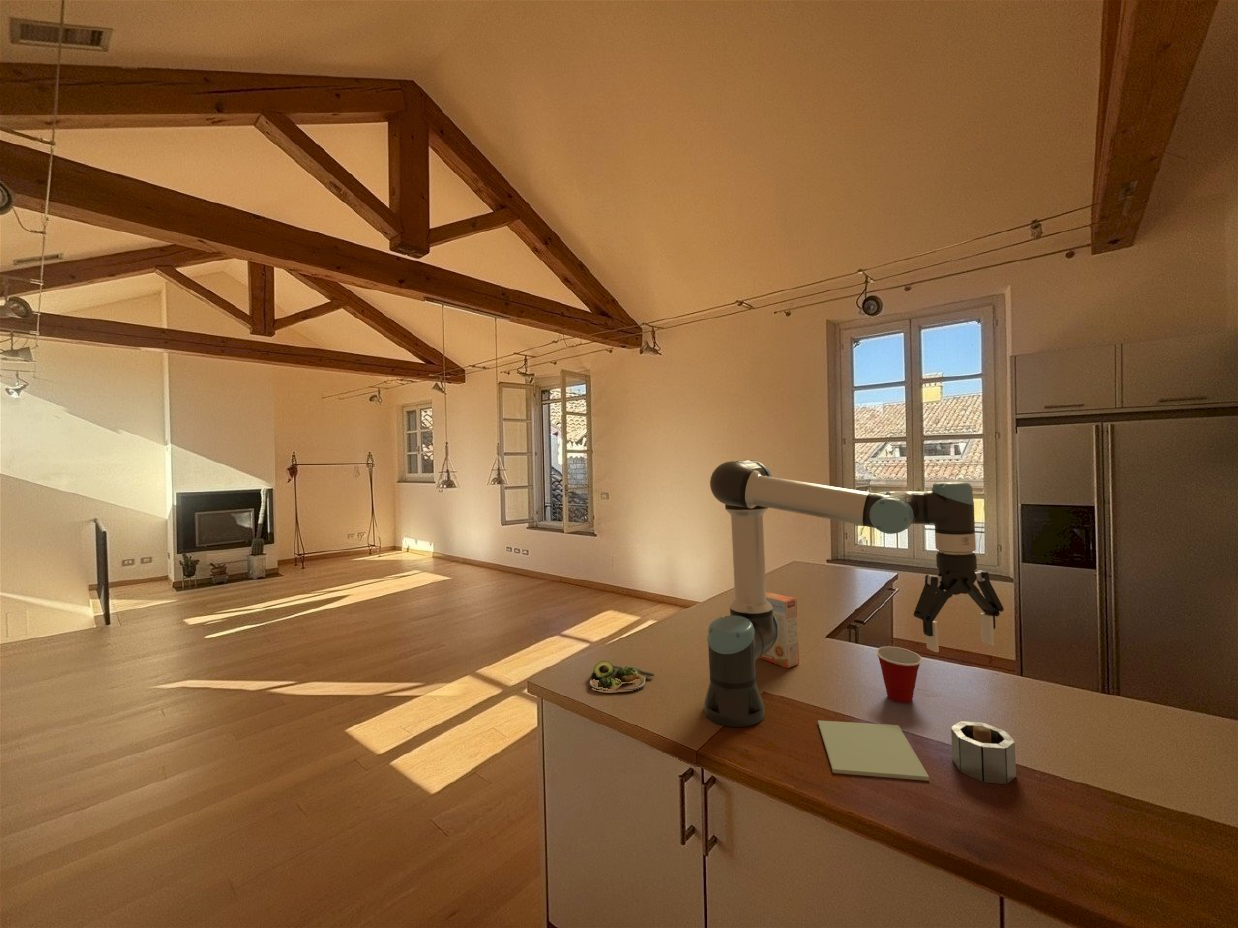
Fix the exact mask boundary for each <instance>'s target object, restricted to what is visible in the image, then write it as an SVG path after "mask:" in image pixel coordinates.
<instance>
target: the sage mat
mask: <svg viewBox="0 0 1238 928" xmlns="http://www.w3.org/2000/svg"><path fill="white" fill-rule="evenodd" d="M817 725H818V728H819V731H820V734H821V738H822V741H823V743H824V747H825V751H826V754H827V757H828V761H829V765H830V767H831V771H832V773H833V774H842V775H843V774H844V775H852V776H853V775H854V776H865V777H866V776H868V777H880V778H893V779H902V780H903V779H905V780H915V781H916V780H917V781H926V782H927V781H928V782H929V781H930V775H928V773H927V771H926V769H925V767H924V765H923V764H922V762H921V761H920V759H919V757H918V756H917V754H916V752H915V751H914V749H913V747H912V745H911V744H910V742H909V740H908V739H907V738H906V736H905V734H904V732H903V730H902V729H901V727H900V725H899V724H898V725H897V724H885V723H884V724H883V723H868V722H867V723H865V722H852V721H849V722H848V721H832V720H817Z"/></svg>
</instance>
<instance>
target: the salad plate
mask: <svg viewBox="0 0 1238 928" xmlns="http://www.w3.org/2000/svg"><path fill="white" fill-rule="evenodd" d="M649 677H655V673H653V672H649V671H644V670H643V669H642V668H640V667H638V666H628V665H625V666H617V665H613V664H612V662H610V661H607V660H602V661H599V662H597V663H596V665H595V666H594V667H593V672H592V673H591V675H590V680H589V683H588V686H590V687H591V688H594V689H596V690H603V691H606V689H602V688H598V687H603V688H608V689H614V688H616V687H617V686H618V685H619V684H621V682H630V681H633V680H635V679H640V682H641V683H640V684H639V685H638V686H635V685H634V686H633V687H630V689H629V688H625V689H622V690H635V689H638V690H640V689H642V688H643V687H644V686H645V685H646V679H647V678H649ZM615 678H618V679H620V680H621V682H620V681H618V680H616V679H615ZM593 679H595V680H599V682H598V687H596V686H595V685H594V684H593V683H592V680H593ZM590 687H589V688H590ZM641 687H642V688H641ZM591 688H590V689H591ZM639 688H640V689H639ZM607 691H608V690H607Z"/></svg>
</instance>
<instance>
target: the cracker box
mask: <svg viewBox="0 0 1238 928" xmlns="http://www.w3.org/2000/svg"><path fill="white" fill-rule="evenodd" d="M766 598H767V601H768V602H769V603H770V604H771V605H772V607H773V615H774V616H775V617H776V619H777V621H778V624H779V636H778V638H777V640H776V642H775V644H774V645H773V647H772V648H771V649H770V650H768V651H767V652H765V653H764V654H763V655H762V656H761V657H760V658H759V659H760V660H764V661H766V662H769V663H772V664H775V665H777V666H780V667H783V668H786V669H789V668H792V667H795V666H798V665H799V664H800V655H799V653H800V651H799V650H800V649H799V632H798V630H799V629H798V626H799V625H798V609H797V606H798V605H797V603H798V602H797V598H796V597H791V596H788V595H787V596H786V595H782V594H778V593H775V592H774V593H773V592H768V591H766Z"/></svg>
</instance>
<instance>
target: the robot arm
mask: <svg viewBox="0 0 1238 928" xmlns="http://www.w3.org/2000/svg"><path fill="white" fill-rule="evenodd" d="M709 486H710V491H711V493H712V494H713V496H714V498H715V499H716V500H717V501H718V502H720V503H721V504H723V505H725V507H724V508H725V509H724V510H726V511H727V513H728V514H729V515H730V520H731V522H730V524H731V540H732V541H731V542H732V563H733V564H732V565H733V566H732V567H733V585H734V601H732V602H731V603H730V604H729V615H725V616H724V617H723V616H722V617H721V616H720V617H718V618H715V619H714V620H713V621H711V623H709V625H708V628H707V637H706V638H707V644H708V645H707V647H708V648H707V649H708V665H709V685H708V687H707V692H706V695H705V698H704V705H703V706H704V708H703V709H704V713H705V716H706V717H707V718H708V719H709V720H710V721H712V722H714V723H715V722H716V723H715V724H718V725H721V726H725V727H732V728H745V727H750V726H754V725H757V724H758V723H759V724H760V722H761V721H762V720H764V718H765V704H764V701H763V698H762V696H761V693H760V690H759V688H758V685H757V677H756V676H757V675H756V674H757V671H756V670H757V669H756V662H757V661H758V659H761V658H760V657H761V656H762V655H763V654H764V653H765V652H767V651H768V650H770V649H771V648H772V647H773V645H774V644H775V642H776V640H777V638H778V636H779V624H778V621H777V619H776V617H775V616H774V615H773V607H772V605H771V604H770V603H769V602H768V601H767V598H766V592H767V580H766V560H765V559H766V557H765V538H764V537H765V535H764V513H766V512H767V511H768V509H774V510H779V511H785V512H788V513H789V512H790V513H796V514H799V515H800V514H801V515H805V516H811V517H817V518H822V519H827V520H832V521H838V522H843V523H848V524H852V525H853V524H854V525H857V526H858V525H860V526H863V527H864V526H865V527H867V528H873V529H876V530H877V531H878V532H881V533H884V534H887V535H895V534H899V533H902V532H904V531H905V530H907V529H909V527H910V526H911V525H934V537H935V538H934V540H935V541H934V544H935V550H937V551H936V553H935V554H936V555H935V556H936V557H935V558H936V560H935V561H936V568H937V569H938V574H937V575H931V574H925V576H924V585H923V588H922V591H921V594H920V596H919V599H918V601H917V604H916V606H915V608H914V612H913V617H915V618H918V619H919V620H922V629H923V634H924V635H925V637H926V638H925V641H926V649H928V650H930V651H932V652H934V653H939V652H940V649H939V644H940V643H939V629H938V628H939V627H938V626H939V625H938V621H936V620H935V619H936V618H937V616H938V615H939V613H940V611H941V610H942V608H943V607H944V605H945V604H946V603H947V601H948V600H949V599H950V598H952V597H953V596H957V595H961V594H963V595H966V594H967V595H968V596H969V597H970V598H971V599H972V600H973V601H974V603H976V605H977V606H978V607H979V608H980V609H981V611H983V612H980V613H979V621H980V622H979V623H980V624H979V626H980V641H981V643H984V644H986V645H988V646H991V647H993V646H994V647H995V634H994V631H995V629H996V617H999V616H1000V614H1001V612H1003V611H1004V610H1005V609H1004V606H1003V604H1002V602H1001V600H1000V598H999V596H998V595H997V592H996V591H995V589H994V587H993V585H992V583H991V580H990V574H989V572H988V571H985V570H980V569H977V568H978V565H977V563H978V562H977V554H976V553H975V551H976V550H977V548H976V547H977V546H976V529H975V526H976V525H975V523H976V522H975V502H974V493H973V486H972V485H971V484H970V483H969V482H965V481H941V482H939V481H938V482H935V483H933V485H932V488H931V490H928V491H927V490H926V491H898V490H897V491H896V490H895V491H894V490H889V491H879V492H877V493H876V492H869V491H864V490H863V491H862V490H857V489H850V488H843V487H839V486H838V487H837V486H831V485H825V484H820V483H819V484H818V483H811V482H805V481H799V480H793V479H786V478H780V477H774V476H772V474H771V471H770V470H769V469H768V467H766V465H764V464H763V463H762V462H760V461H756V460H752V459H751V460H750V459H744V460H736V461H733V460H732V461H725V462H723V463H721V464H719V465H718V466H717V467H716V468H715V469H713V471H712V474H711V476H710V481H709ZM975 582H976V583H977V585H978V587H979V588H978V587H977V585H976V584H975ZM980 591H981V592H982V593H981V592H980Z"/></svg>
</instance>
